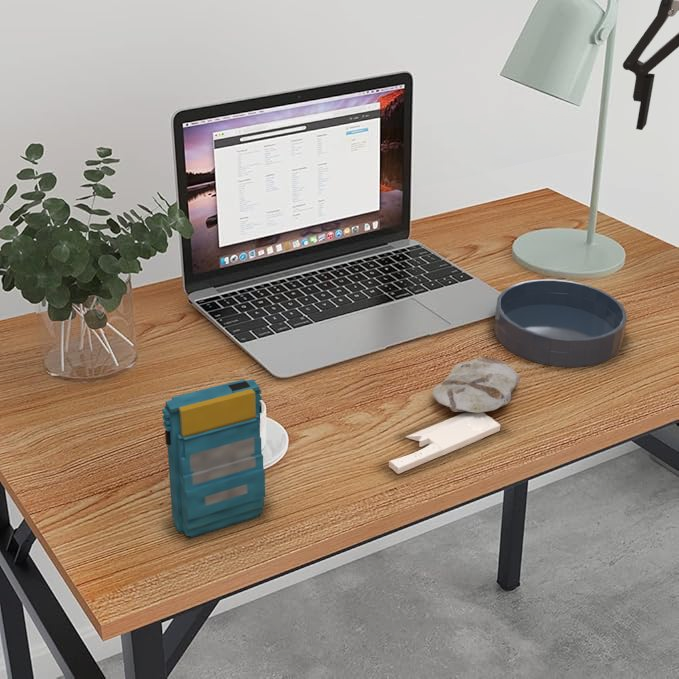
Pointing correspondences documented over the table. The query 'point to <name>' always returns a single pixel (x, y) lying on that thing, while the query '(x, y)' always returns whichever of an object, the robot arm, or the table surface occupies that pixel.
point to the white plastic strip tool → (446, 438)
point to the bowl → (559, 323)
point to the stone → (477, 385)
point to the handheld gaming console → (215, 457)
